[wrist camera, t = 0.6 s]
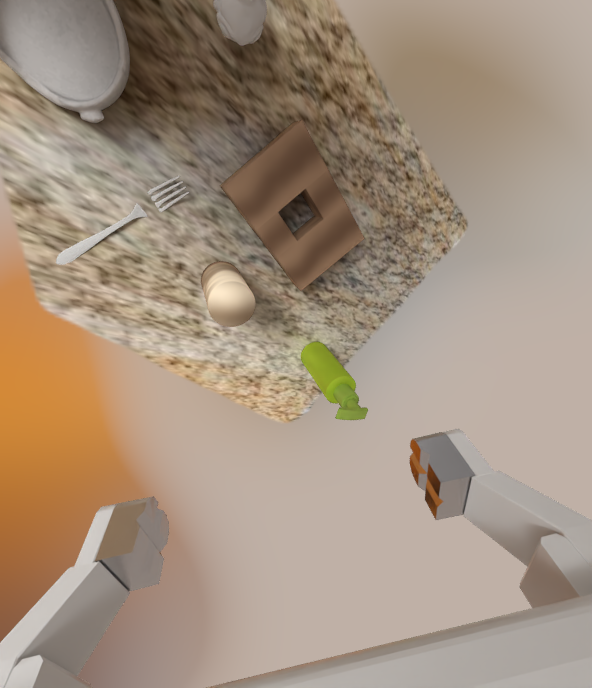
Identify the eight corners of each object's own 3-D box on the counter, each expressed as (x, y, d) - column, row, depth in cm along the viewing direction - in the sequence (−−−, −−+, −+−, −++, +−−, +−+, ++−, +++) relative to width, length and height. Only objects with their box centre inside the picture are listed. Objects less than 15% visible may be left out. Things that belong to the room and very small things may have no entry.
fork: (30, 263, 45) (25, 266, 44) (177, 172, 46) (177, 172, 44) (49, 282, 47) (45, 285, 46) (191, 194, 48) (192, 195, 46)
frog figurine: (260, -14, 39) (276, -44, 34) (258, 60, 43) (272, 44, 37) (209, -29, 37) (216, -64, 32) (211, 50, 41) (217, 31, 35)
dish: (118, 136, 42) (112, 133, 38) (-23, 69, 35) (-48, 56, 31) (147, 3, 37) (144, -17, 33) (-9, -102, 31) (-36, -144, 27)
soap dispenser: (299, 340, 65) (343, 400, 49) (329, 342, 68) (381, 400, 52) (293, 365, 68) (333, 430, 51) (322, 366, 70) (369, 428, 54)
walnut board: (219, 185, 48) (223, 187, 45) (292, 122, 47) (301, 119, 44) (293, 283, 59) (301, 290, 56) (353, 234, 58) (364, 238, 55)
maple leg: (201, 252, 52) (211, 278, 40) (240, 259, 54) (260, 285, 42) (197, 290, 54) (204, 324, 42) (234, 295, 56) (251, 329, 45)
